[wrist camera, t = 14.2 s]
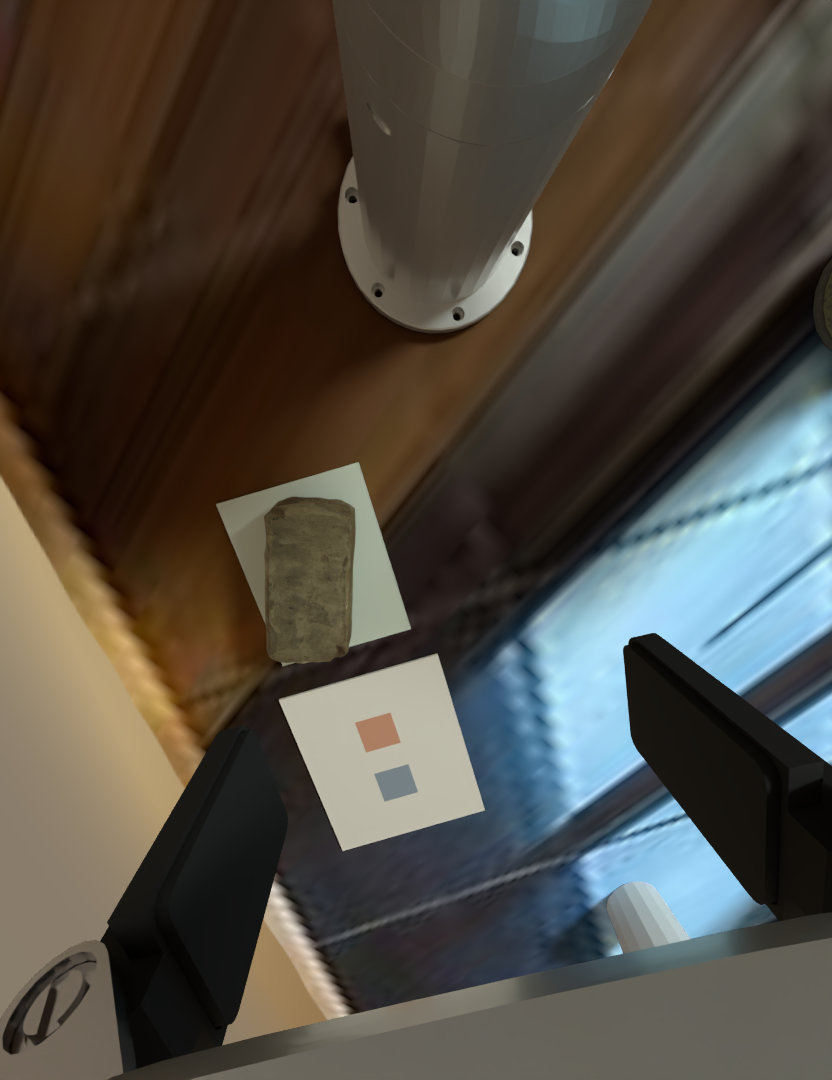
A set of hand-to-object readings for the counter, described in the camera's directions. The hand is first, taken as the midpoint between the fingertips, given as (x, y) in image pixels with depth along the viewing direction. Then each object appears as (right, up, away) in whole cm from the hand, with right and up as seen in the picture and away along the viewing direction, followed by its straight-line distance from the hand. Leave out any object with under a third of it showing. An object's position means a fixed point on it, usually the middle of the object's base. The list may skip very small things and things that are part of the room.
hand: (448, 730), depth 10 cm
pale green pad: (-8, +2, +22) cm, 23 cm away
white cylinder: (+22, -33, +32) cm, 51 cm away
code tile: (-3, -15, +26) cm, 30 cm away
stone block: (-8, +3, +22) cm, 23 cm away
